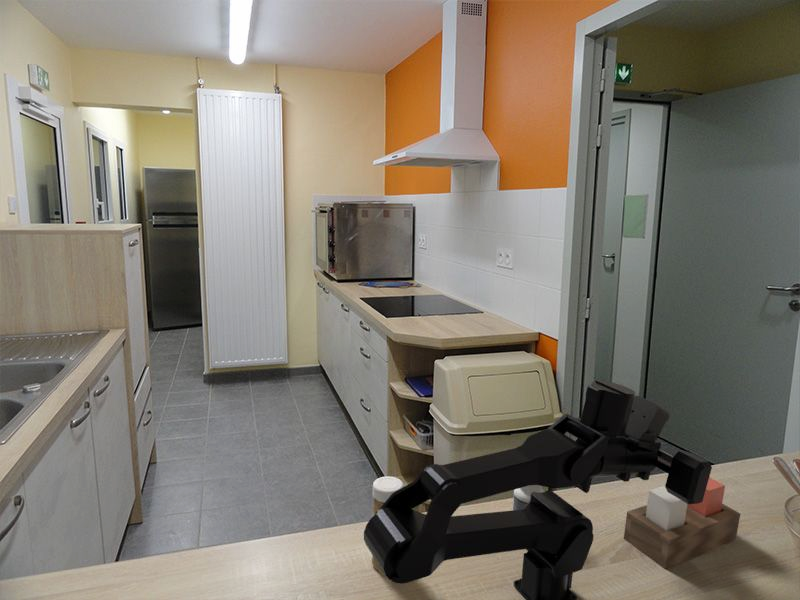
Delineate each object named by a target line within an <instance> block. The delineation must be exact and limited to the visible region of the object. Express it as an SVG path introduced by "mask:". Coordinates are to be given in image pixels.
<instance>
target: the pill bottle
mask: <svg viewBox="0 0 800 600" xmlns="http://www.w3.org/2000/svg"><path fill="white" fill-rule="evenodd" d="M532 492H538V493H542V492H545V491H544V489H543V486H540V485H530V486H526V487H522V488H518V489H515V490H513V503H512V510H521V509H524V507H525V506H526V505H527V504H528V503H529V501H530V499H531V493H532Z"/></svg>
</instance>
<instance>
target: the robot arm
mask: <svg viewBox="0 0 800 600" xmlns="http://www.w3.org/2000/svg"><path fill="white" fill-rule="evenodd" d="M584 400H585V401H584V404H583V408H582V413H581V417H574V416H572V415H570V414H568V413H566V414H564V415H563V416H561V417H560V418H559V419H558V420H555V421H554V422H553V423H552V424H551V425H550V426H549V427H547V428H545V429H543V430H541V431H538V432H535V433H533V434H530V435H529V436H527V437H526V438H525V440H524V441H523V442H522V444H521V445H520V446H519V445H518V446H517V447H514V448H509V449H507V450H502V451H498V452H492V453H489V454H483V455H481V456H480V455H479V456H476V457H471V458H467V459H464V460H463V459H462V460H459V461H455V462H450V463H446V464H438V463H433V464H430V465H428V466H426V467H425V468H424V469H422V471H421V472H420V473H419V475H417V477H416V478H415V480H414V481H412V482H410V483H409V484H407V485H405V486H404V487H403V488H401V489H399V490H397V491H396V492H394V493H393V494H391V496H390V497H389V498H388V499H387V500H386V502H385V503H384V504H383V505H382V507H381V508H380V509H379V510H378V511H376V513H375V515H374V516H373V515H372V517H371V518H370V519H369V520H368V522H367V523H366V525H365V528H364V530H363V531H364V532H363V540H364V543H365V546H366V547H367V548H368V549H367V550H369V552H370V553H371V555H373V556H372V557H374V558H375V560H376V561H377V563H378V564H379V566H380V567H381V569H382V570H383V571H382V572H383V573H384V576H386V577H387V578H388V579H389V581H391V583H392V584H395V585H396V584H397V585H405V584H408V583H411V582H415V581H417V580H420V579H423V578H426V577H429V576H431V575H432V574H433V573H434V572H435V571H436V570H437V569H438V568H439V567H440V565H442V563H443V562H444V561H451V560H456V559H464V558H470V557H478V556H486V555H492V554H499V553H507V552H514V551H521V550H526V551H527V552H525V553H523V557H522V559H523V560H522V571H521V578H520V579H516V580H514V581H513V587H514V588H515V589H516V590H517V591H518V592H519V594H521V595H522V596H523V597H524V598H525V600H578V597H577V595H576V594H575V593H573V592H572V591H571V590H570V589H572V584H573V583H572V582H573V574H574V573H577V572H579V571H581V570H583V568H584V566H585V563H586V561H587V557H588V555H589V552H590V550H591V547H592V544H593V542H594V532H593V531H594V527H593V526H594V525H593V522H592V520H591V519H590V518H589V517H588V516H586V515H585V514H583V513H582V512H581V511H579V510H578V509H577V508H575V507H574V506H573V505H572V504H570V503H569V502H568V501H566V500H565V499H564V498H562V497H560V496H559V495H558V494H557V493H556V492H554V491H553V490H552V489H566V488H572V487H573V488H574V487H576V488H577V489H579V490H580V491H582V492H583V493H584V494H588V493H589V492H590V488H591V485H592V481H593V478H603V477H604V478H606V477H616V478H617V479H619V480H620V481H622V482H623V483H624V482H626V483H627V482H630V479H631V476H636V477H637V478H639V479H641V480H643V481H648V480H649V479H650V475H651V472H653V471H654V470H655V469H656V468H657V469H659V470H660V471H662V472H665V473H666V474H667V477H666V482H665V485H664V486H665V487H666V490H667V492H668V493H670V494H672V495H674V496H675V497H677V498H679V499H680V500H682V501H684V502H685V503H687V504H689V505H690V504H698V503H701V502H702V501H703V498H704V494H705V490H706V487H707V483H708V480H709V477H710V476H711V472H712V469H713V466H712V464H711V462H710V461H709V460H707V459H705V458H703V457H702V456H700V455H697V454H696V453H693V452H691V451H689V450H679V451H677V452H676V453H675V454H674V455H671V454H669V453H667V452H665V451H663V450H661V446H662V442H661V441H660V440H658V438H659V436H660V435H661V432H662V431H663V428H664V427H665V425H666V423H667V422H668V421H669V419H670V413H669V411H668V410H667V409H665V408H663V407H662V406H660V405H658V404H657V403H656V402H653V401H651V400H648V399H646V398H644V397H642V396H640V395H636V391H635V390H633V389H632V388H629V387H628V386H625V385H622V384H619V383H616V382H611V381H606V380H601V379H595V381H592V382H591V384H589V385H587V388H586V391H585V399H584ZM566 433H568V434H569V435H571V436H573V437H575V438H576V440H574V439H573V438H571V437H569V436H567V434H566ZM530 485H540V486H542V487H544V488H545V487H547V488H551V489H548V490H546V491H544V492H542V493H538V492H532V493H531V499H530V501H529V503H528V504H527V505H526V506H525V507H524V509H521V510H513V509H511V510H503V511H502V510H501V511H496V512H495V511H494V512H484V513H483V512H482V513H475V514H474V513H472V514H462V515H454V514H455V512H456V511H457V510H458V509H459V507H460V506H461V505H464V504H467V503H472V502H474V501H478V500H482V499H485V498H489V497H493V496H497V495H499V494H503V493H506V492H511V491H514V490H515V489H518V488H522V487H526V486H530ZM429 500H430V502H429V505H428V507H427V511H426V513H424V512H420V511H417V510H414V508H417V507H418V506H420V505H422V504H423V503H425V502H427V501H429Z"/></svg>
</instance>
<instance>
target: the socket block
mask: <svg viewBox="0 0 800 600" xmlns="http://www.w3.org/2000/svg"><path fill="white" fill-rule="evenodd" d="M646 510H647V504H646V505H642V506H640V507H637V508H635V509H630V510H628V511H627V510H626V518H625V525H624V532H623V539H624V540H625V541H626V542H628V543H629V544H631V545H632V546H633V547H635V548H636V549H637V550H639V551H640V553H643V554H644V555H646V556H647V557H648V558H650V560H652V561H654V562H655V563H657V564H658V565H659V566H660V567H662V568H663V569H665V570H666V569H669V568H671V567H674V566H676V565H678V564H681V563H684V562H686V561H689V560H690V559H694V558H696V557H699V556H701V555H703V554H706V553H708V552H711V551H714V550H715V549H718V548H721V547H724V546H725V545H728V544H730V543H733V542H735V541H737V535H738V530H739V523H740V518H741V513H740V512H738V510H735V509H733V508H731V507H729V506H728V505H726V504H724V503H722V507H721V512H720V513H717V514H714V515H711V516H709V517H704V516H702V515H701V514H699V513H697V512H696V511H694V510H692V509H691V508H689V507H687V510H686V516H685V523H684V526H681V527H678V528H676V529H673V530H670V531H666V530H665V529H663V528H662V527H660V526H659V525H657V524H656V523H654V522H653V521H651V520H650V519H648V518H647V517H646Z"/></svg>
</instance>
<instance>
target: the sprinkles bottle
mask: <svg viewBox="0 0 800 600" xmlns="http://www.w3.org/2000/svg"><path fill="white" fill-rule="evenodd" d="M403 487H405V486H404V483H403V481H402V480H401V479H399V478H398V477H395V476H381V477H379V478H376V479H375V480H374V481H373V483H372V498H373V507H372V510H373V511H372V517H373V516H374V515H375V513H376V511H378V510H379V509H380V508H381V507H382V505H383V504H384V503H385V502H386V500H387V499H388V498H389V497H390V496H391V494H393V493H394V492H396V491H397V490H399V489H401V488H403ZM371 555H372V554H371ZM371 565H372V566H373V568H374V569H375V570H377V571H379V572H383V570H382V569H381V567H380V566H379V564H378V563H377V561H376V560H375V558H374V557H373V555H372V558H371Z"/></svg>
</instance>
